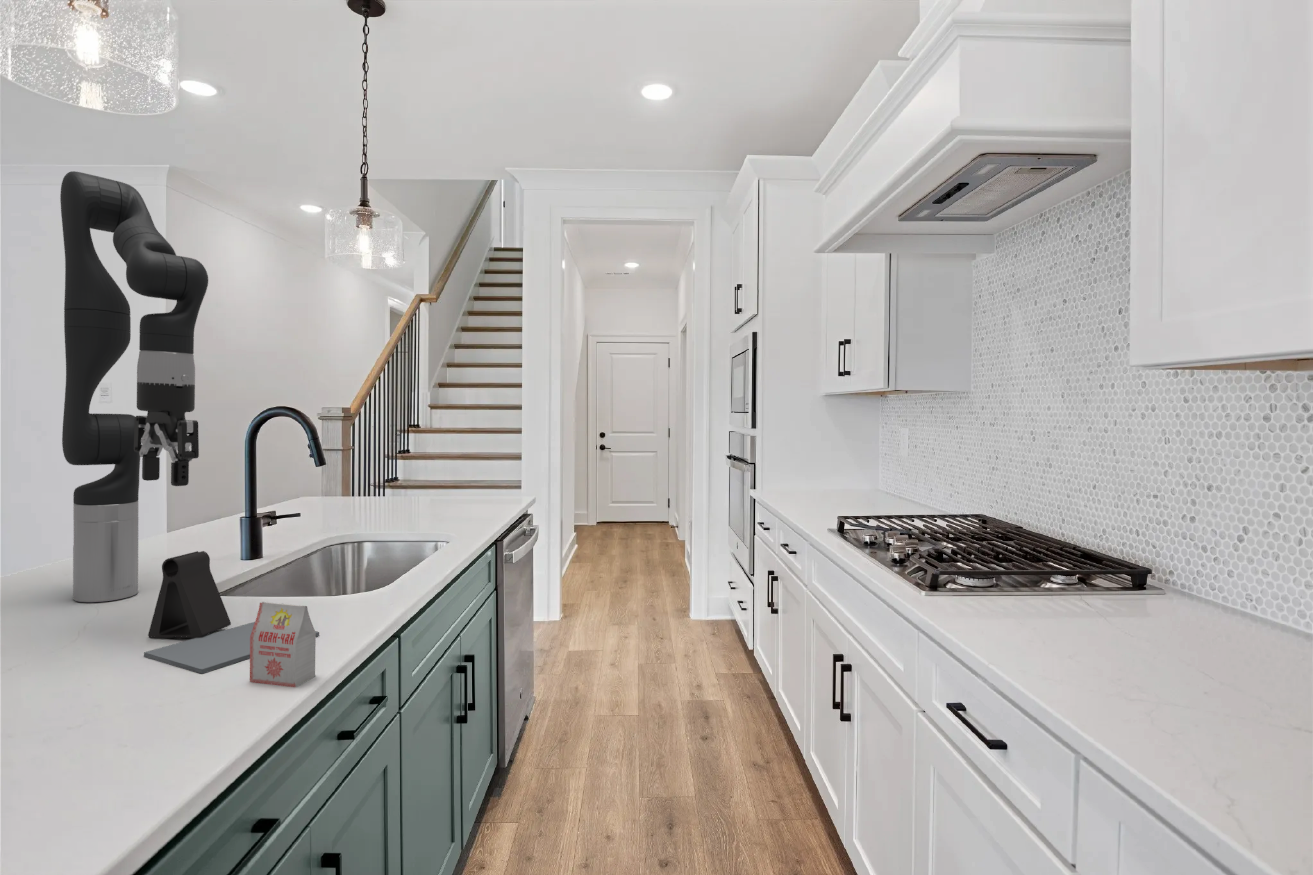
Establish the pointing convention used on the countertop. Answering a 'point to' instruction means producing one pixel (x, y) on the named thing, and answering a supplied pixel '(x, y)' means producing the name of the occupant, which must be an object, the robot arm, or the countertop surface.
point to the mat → (208, 650)
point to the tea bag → (282, 645)
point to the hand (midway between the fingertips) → (165, 482)
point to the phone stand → (188, 599)
